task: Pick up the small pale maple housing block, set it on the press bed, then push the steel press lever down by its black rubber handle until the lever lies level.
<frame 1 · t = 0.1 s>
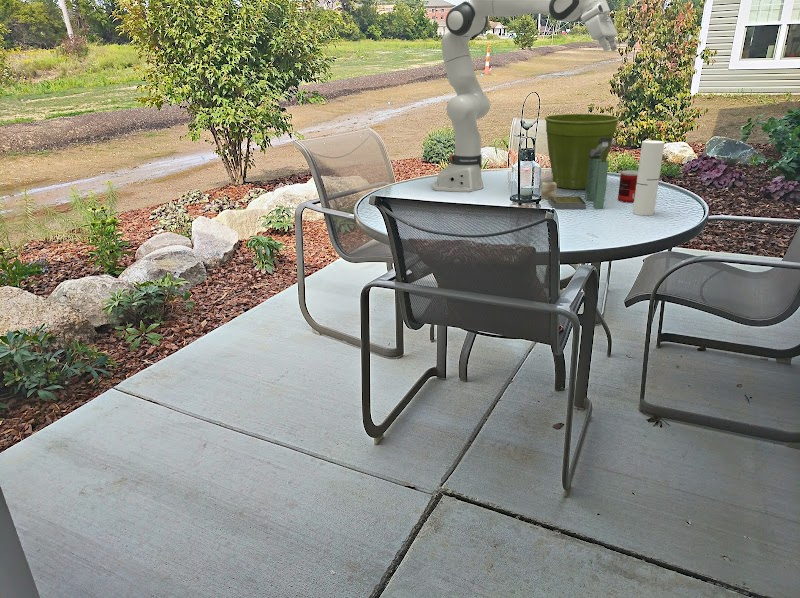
hand: (611, 50, 208), 54 cm above the table, tool tilted 30°, fingers open, 8 cm apart
cylindrical container: (643, 213, 211), on the table
press lever: (600, 148, 218), point 21 cm above the table, hinge at -22.0°
press base: (566, 205, 224), on the table
plant pot: (575, 186, 257), on the table
canned food: (627, 200, 230), on the table
housing block: (548, 198, 236), on the table
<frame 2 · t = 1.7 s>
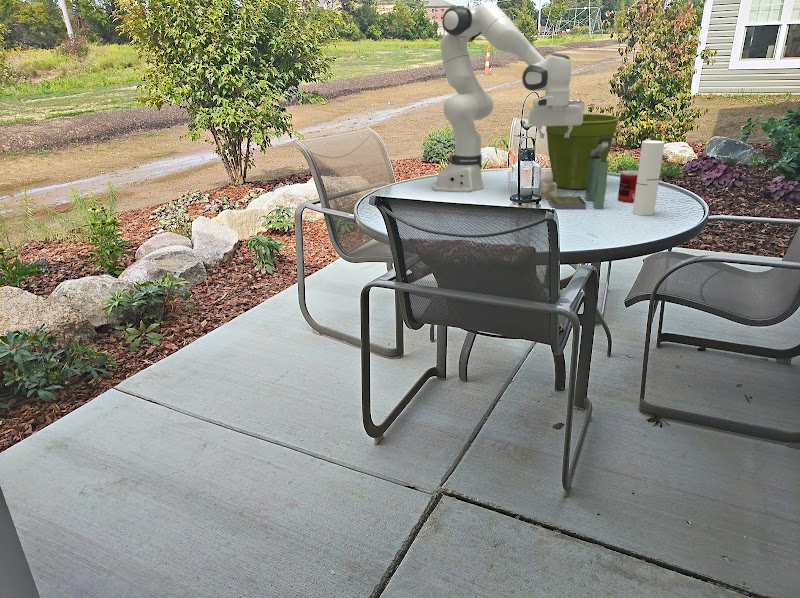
hand: (554, 138, 227), 23 cm above the table, tool pointing down, fingers open, 8 cm apart
nothing on the table moved.
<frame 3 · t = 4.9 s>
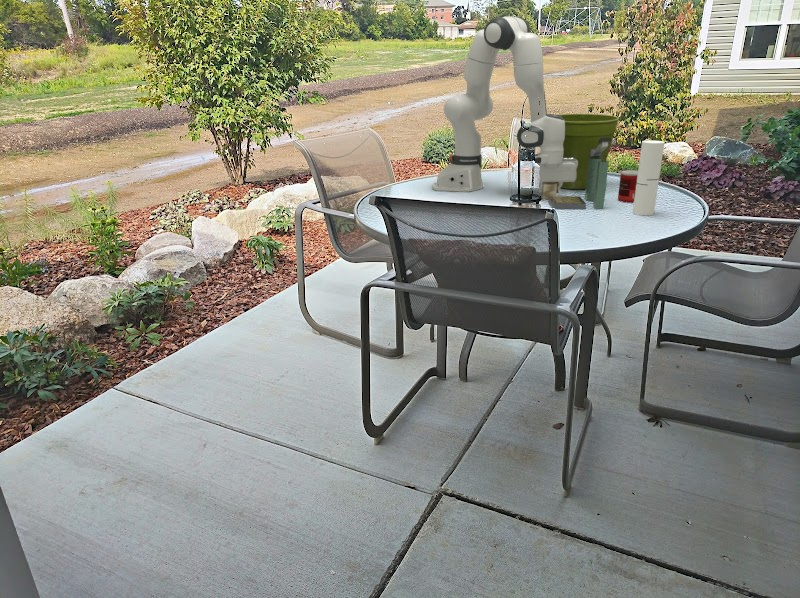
hand: (548, 192, 235), 2 cm above the table, tool pointing down, fingers closed on housing block, 5 cm apart
housing block: (548, 198, 236), on the table, touching gripper
everything else where it was.
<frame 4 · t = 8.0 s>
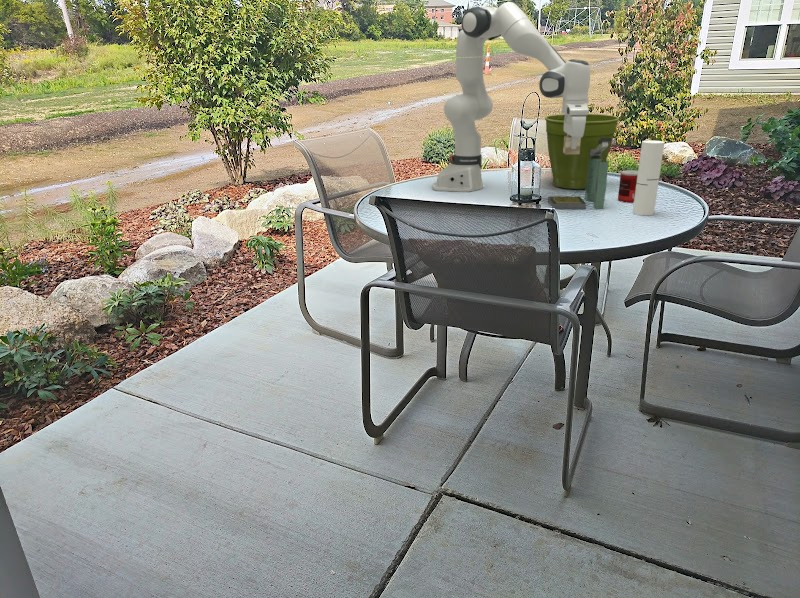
hand: (571, 147, 216), 22 cm above the table, tool pointing down, fingers closed on housing block, 5 cm apart
housing block: (571, 153, 217), point 19 cm above the table, touching gripper
everything else where it was.
when the fingers open (6 cm above the table, at t = 11.4 s): housing block drops 1 cm, resting on press base.
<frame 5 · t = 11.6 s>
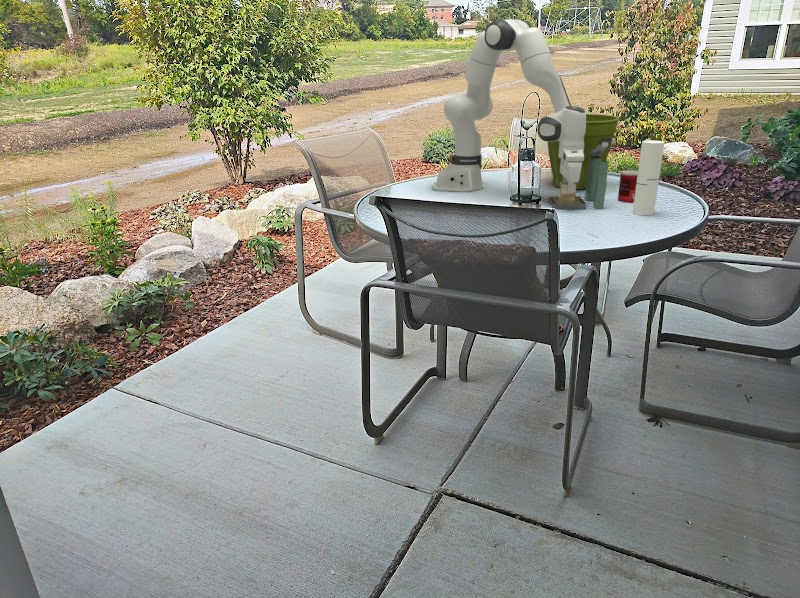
hand: (567, 189, 222), 6 cm above the table, tool pointing down, fingers open, 7 cm apart
housing block: (566, 199, 224), point 2 cm above the table, touching press base
everything else where it was.
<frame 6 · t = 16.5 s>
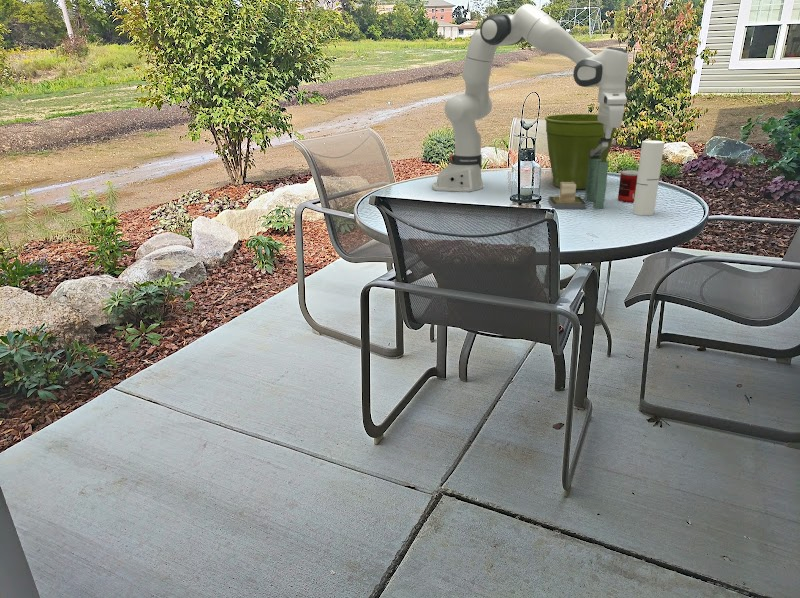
hand: (606, 138, 211), 25 cm above the table, tool pointing down, fingers closed
press lever: (600, 148, 218), point 21 cm above the table, hinge at -21.7°, touching gripper
everything else where it was.
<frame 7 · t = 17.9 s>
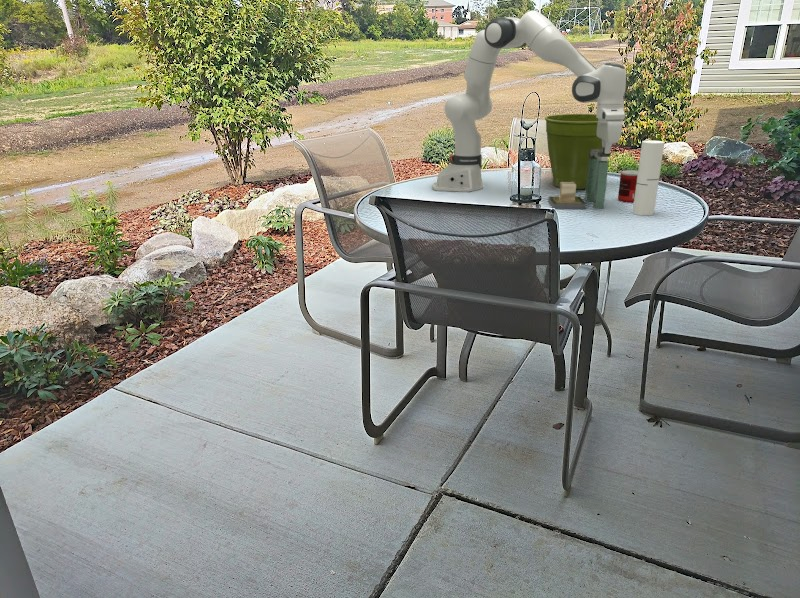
hand: (605, 152, 212), 20 cm above the table, tool pointing down, fingers closed on press lever, 2 cm apart
press lever: (599, 155, 219), point 18 cm above the table, hinge at -1.1°, touching gripper
everything else where it was.
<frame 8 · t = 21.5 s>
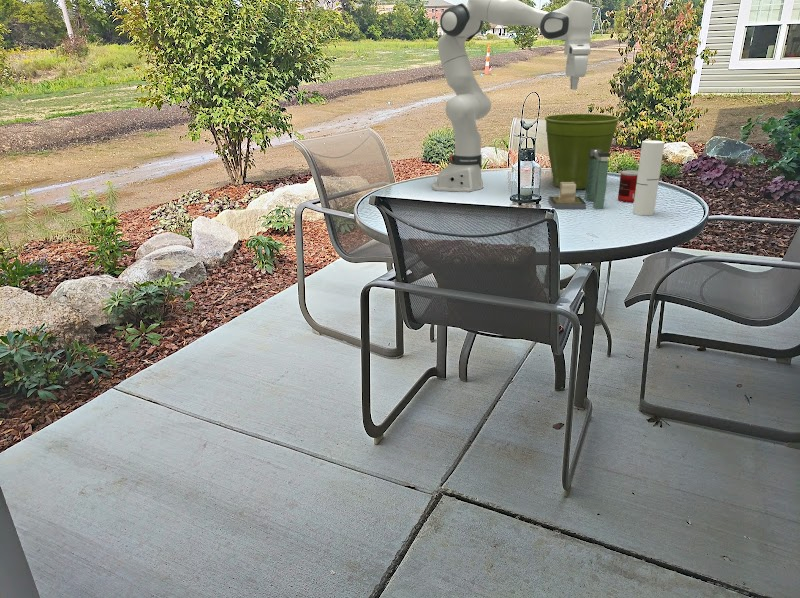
hand: (573, 89, 219), 41 cm above the table, tool pointing down, fingers closed
press lever: (599, 155, 219), point 18 cm above the table, hinge at -0.8°
everything else where it was.
at the end: housing block 0.0 cm off-centre on the press base, point 2.3 cm above the press base's base; housing block tilted 0°; press lever at -1° (first picture: -22°) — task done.
